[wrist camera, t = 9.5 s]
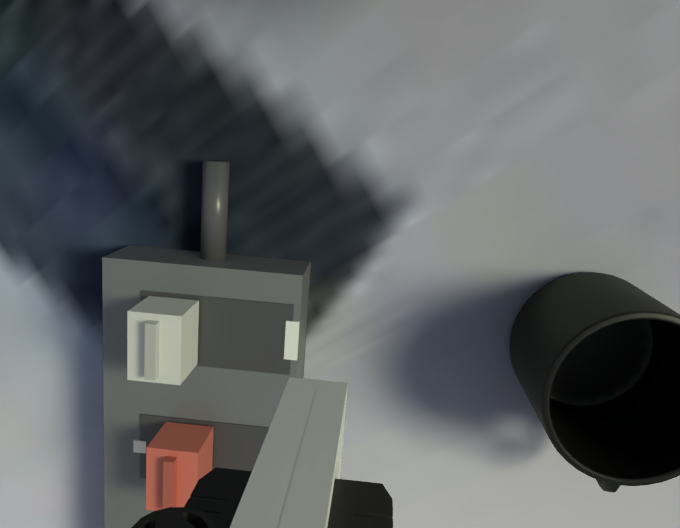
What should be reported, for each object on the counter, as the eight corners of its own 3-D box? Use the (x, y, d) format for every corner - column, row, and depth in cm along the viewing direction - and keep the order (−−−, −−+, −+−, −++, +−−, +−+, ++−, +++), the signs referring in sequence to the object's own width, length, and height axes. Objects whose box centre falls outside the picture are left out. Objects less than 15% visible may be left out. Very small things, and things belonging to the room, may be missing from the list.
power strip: (127, 152, 40) (97, 155, 36) (317, 167, 39) (308, 172, 35) (126, 563, 46) (101, 605, 42) (289, 582, 45) (279, 627, 41)
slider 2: (165, 421, 39) (142, 452, 35) (213, 426, 38) (194, 458, 35) (165, 479, 39) (142, 516, 36) (211, 484, 39) (193, 521, 36)
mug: (506, 446, 42) (538, 531, 33) (509, 272, 39) (544, 313, 31) (652, 446, 41) (724, 532, 32) (664, 268, 39) (745, 309, 30)
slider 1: (149, 295, 37) (122, 314, 33) (199, 300, 37) (178, 319, 33) (148, 359, 38) (122, 384, 34) (197, 364, 38) (176, 389, 34)
